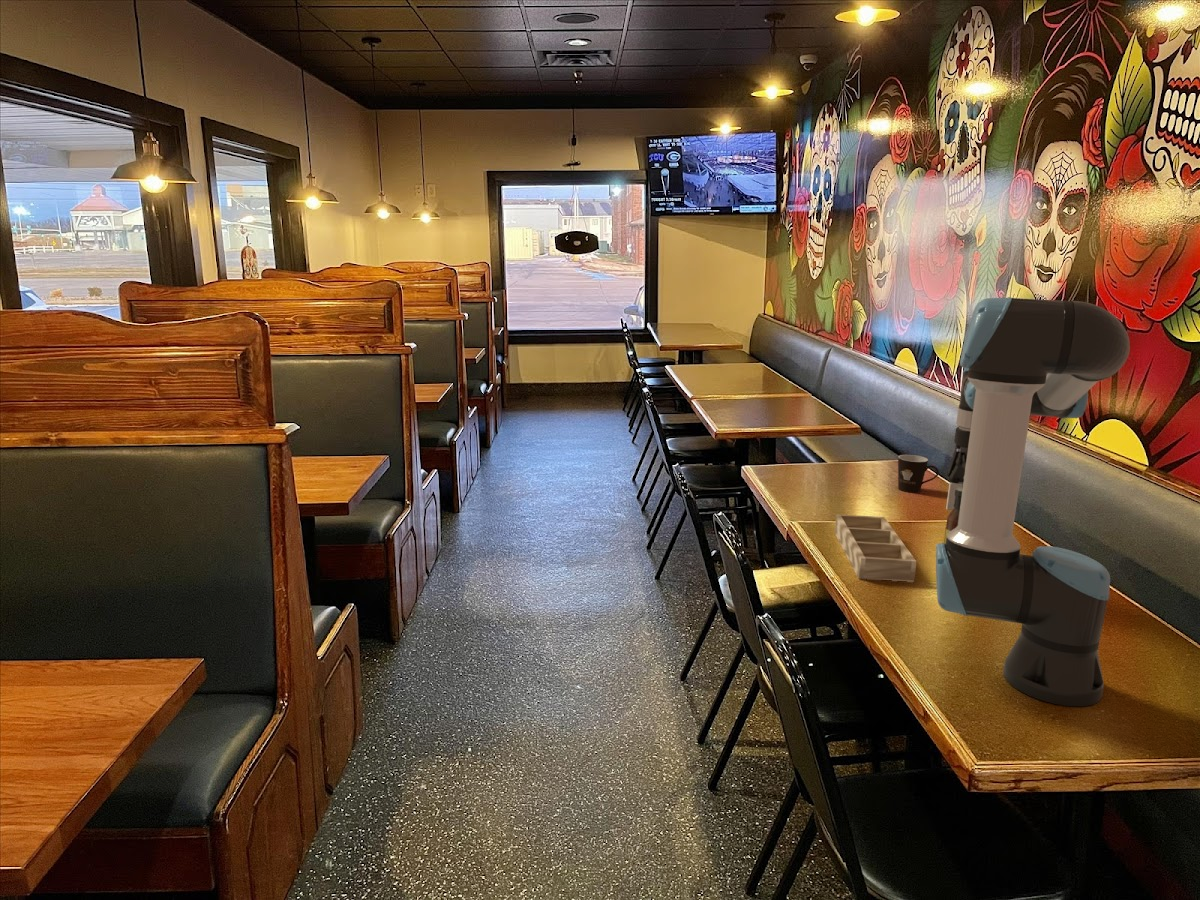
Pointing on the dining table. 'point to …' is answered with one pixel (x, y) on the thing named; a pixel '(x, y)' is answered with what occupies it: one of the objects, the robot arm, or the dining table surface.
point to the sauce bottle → (954, 513)
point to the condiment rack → (874, 548)
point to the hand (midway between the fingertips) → (961, 519)
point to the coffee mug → (912, 472)
